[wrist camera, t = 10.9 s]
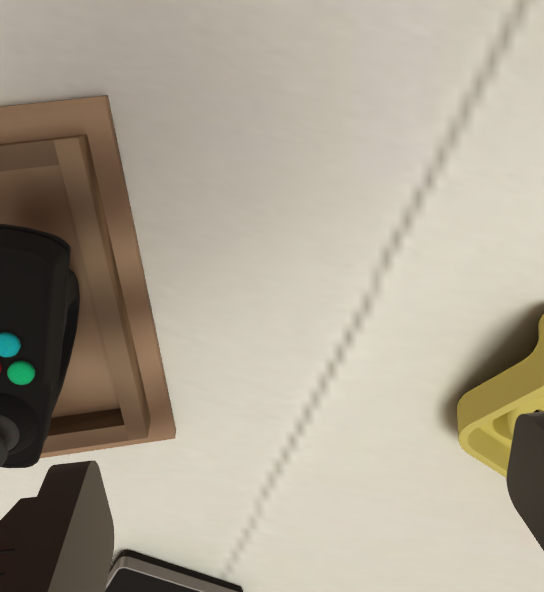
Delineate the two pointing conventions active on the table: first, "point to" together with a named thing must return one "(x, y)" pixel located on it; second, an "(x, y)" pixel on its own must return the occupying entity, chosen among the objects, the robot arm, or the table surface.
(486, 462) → the plastic component
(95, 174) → the cradle
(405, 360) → the table surface
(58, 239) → the controller
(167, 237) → the table surface
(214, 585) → the external hard drive
